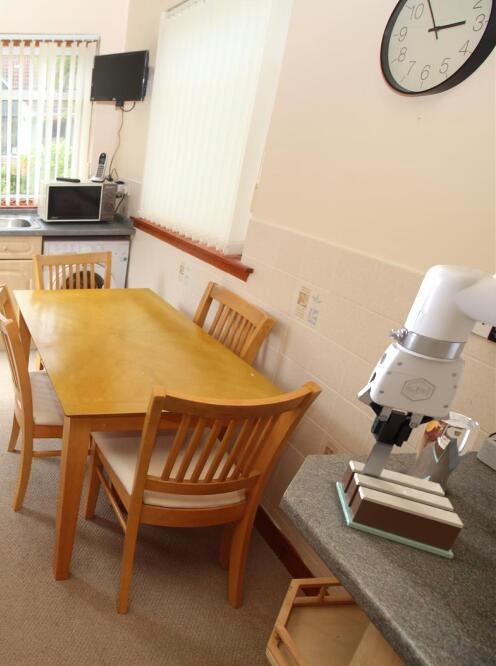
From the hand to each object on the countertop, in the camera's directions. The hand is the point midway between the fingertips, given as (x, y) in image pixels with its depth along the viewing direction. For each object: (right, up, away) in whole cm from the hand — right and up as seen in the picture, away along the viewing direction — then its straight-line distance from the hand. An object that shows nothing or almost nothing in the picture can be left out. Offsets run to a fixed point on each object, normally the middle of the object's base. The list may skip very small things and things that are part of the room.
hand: (386, 439), depth 82 cm
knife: (0, -7, +3) cm, 8 cm away
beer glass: (+17, -12, +11) cm, 24 cm away
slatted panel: (+2, -14, +2) cm, 15 cm away
